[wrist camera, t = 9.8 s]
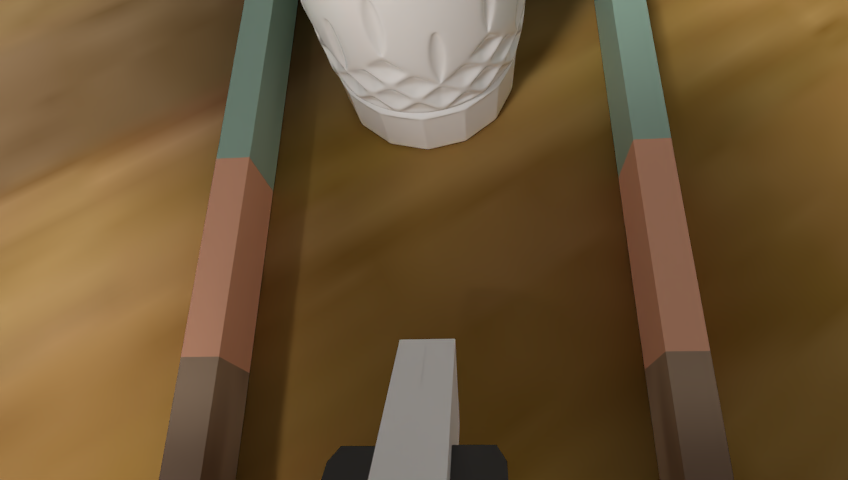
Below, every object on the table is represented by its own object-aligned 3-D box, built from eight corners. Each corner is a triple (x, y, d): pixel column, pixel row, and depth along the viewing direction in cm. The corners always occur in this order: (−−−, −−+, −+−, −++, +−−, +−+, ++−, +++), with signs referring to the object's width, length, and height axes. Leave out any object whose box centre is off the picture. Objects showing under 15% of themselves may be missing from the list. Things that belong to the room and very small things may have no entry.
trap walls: (683, 369, 19) (710, 350, 17) (215, 373, 20) (180, 357, 18) (652, 176, 22) (671, 137, 19) (243, 192, 23) (216, 158, 21)
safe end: (652, 176, 22) (684, 110, 18) (243, 192, 23) (197, 134, 20) (615, -46, 26) (636, -135, 23) (276, -21, 28) (243, -100, 24)
